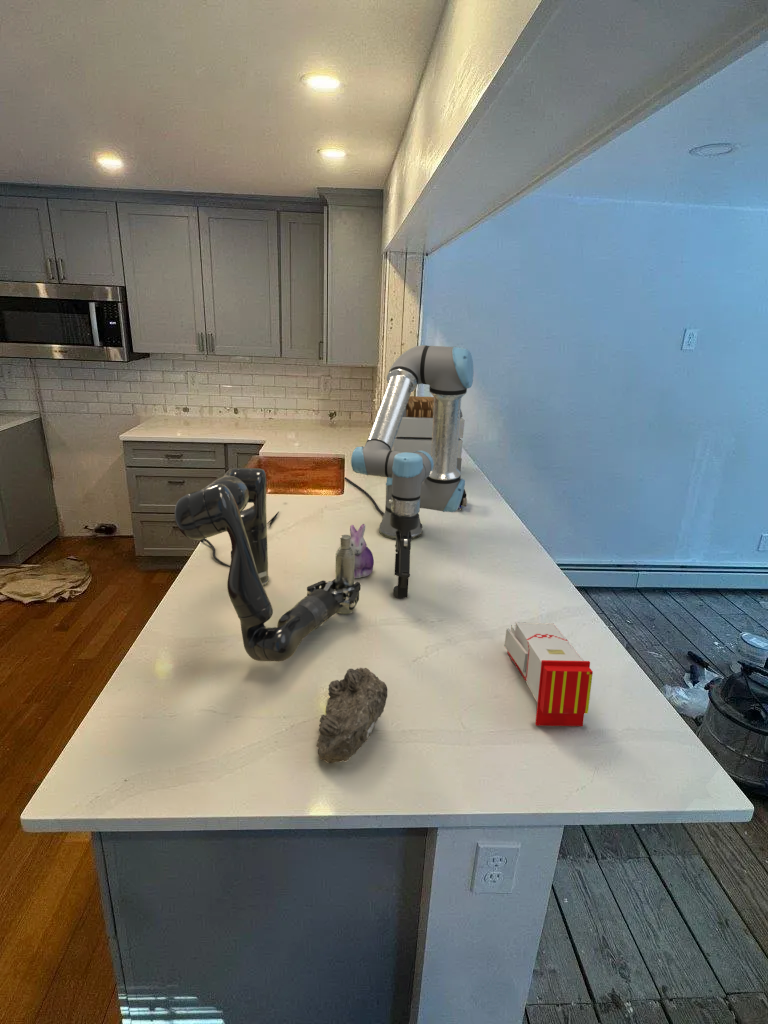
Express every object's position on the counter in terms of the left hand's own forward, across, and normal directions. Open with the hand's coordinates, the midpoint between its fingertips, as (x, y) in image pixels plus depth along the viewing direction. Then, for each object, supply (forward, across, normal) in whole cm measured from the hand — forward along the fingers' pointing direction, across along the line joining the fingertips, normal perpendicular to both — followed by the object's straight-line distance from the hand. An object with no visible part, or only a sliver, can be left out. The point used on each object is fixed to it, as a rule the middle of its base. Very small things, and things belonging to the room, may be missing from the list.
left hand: (349, 582), depth 148 cm
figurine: (+19, +7, +7) cm, 21 cm away
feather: (+45, +57, +7) cm, 73 cm away
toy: (-8, -52, +7) cm, 53 cm away
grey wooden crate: (+130, +36, +7) cm, 135 cm away
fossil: (-40, -24, +7) cm, 47 cm away
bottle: (-3, 0, +7) cm, 7 cm away
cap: (+12, -9, +5) cm, 16 cm away
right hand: (+12, -9, +4) cm, 16 cm away
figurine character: (+93, +4, +7) cm, 93 cm away
